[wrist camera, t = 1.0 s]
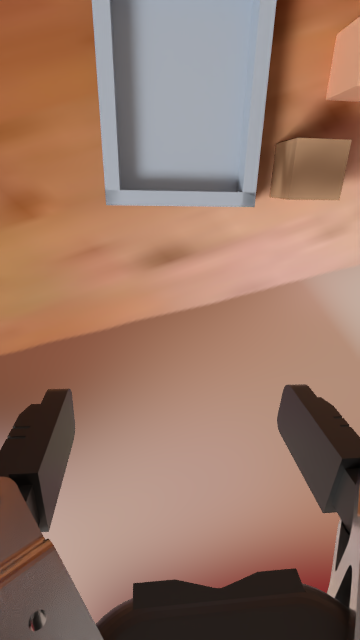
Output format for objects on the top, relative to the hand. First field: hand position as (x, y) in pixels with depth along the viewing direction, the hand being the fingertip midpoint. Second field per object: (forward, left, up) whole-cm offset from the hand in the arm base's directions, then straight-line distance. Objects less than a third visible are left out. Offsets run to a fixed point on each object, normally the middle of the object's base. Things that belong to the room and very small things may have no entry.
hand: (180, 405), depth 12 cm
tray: (-14, +2, -22) cm, 26 cm away
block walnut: (-9, +13, -22) cm, 27 cm away
